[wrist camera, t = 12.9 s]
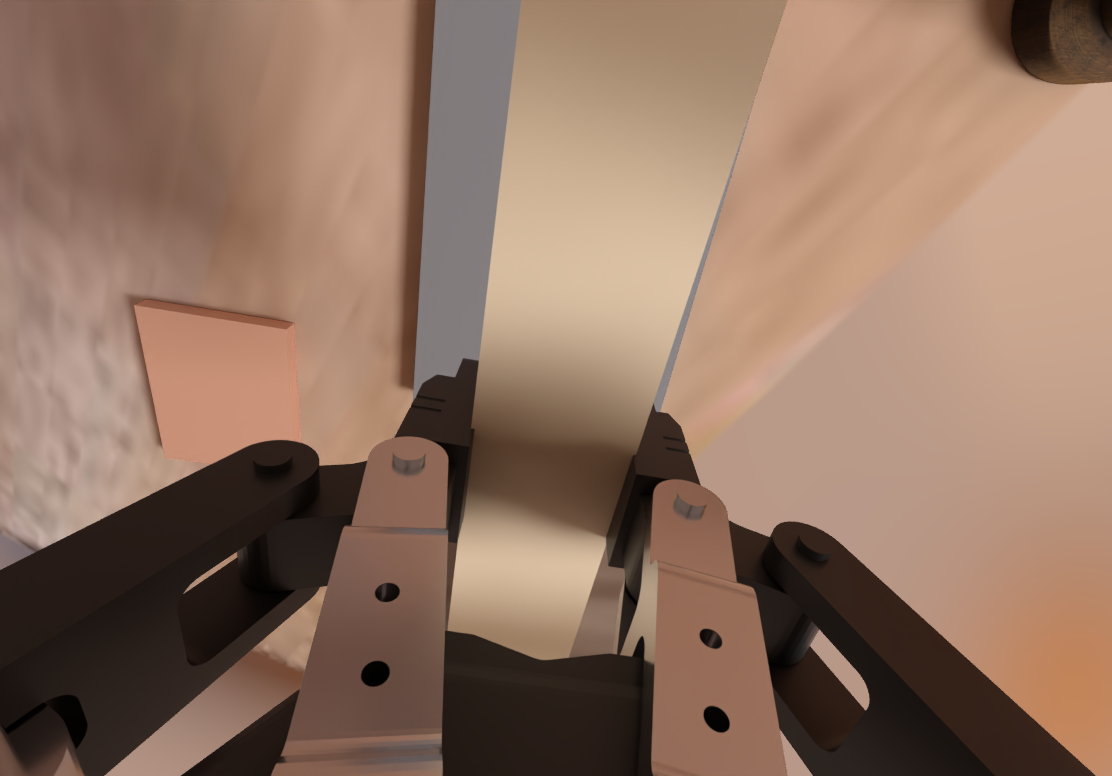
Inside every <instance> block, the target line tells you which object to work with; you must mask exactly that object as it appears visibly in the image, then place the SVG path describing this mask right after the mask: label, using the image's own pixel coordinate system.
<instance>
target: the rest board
mask: <svg viewBox="0 0 1112 776" xmlns="http://www.w3.org/2000/svg"><path fill="white" fill-rule="evenodd" d="M520 5H521V0H436V5H435V22H434V40H433V57H432V75H431V92H430V110H429V128H428V145H427V163H426V180H425V198H424V215H423V233H422V250H421V268H420V286H419V303H418V321H417V338H416V356H415V373H414V391H413V401H414V399H415V398H416V395H417V393H418V391H419V389H420V387H421V385H422V383H424V382H425V381H427V380H429V379H430V378H432V377H433V376H435V375H437V374H438V375H444V376H450V377H455V376H456V374H457V372H458V369H459V367H460V364H461V362H462V359H463V358H467V359H472V360H478V361H479V356H480V347H481V339H482V330H483V322H484V313H485V305H486V296H487V288H488V279H489V270H490V262H491V253H492V245H493V236H494V228H495V219H496V211H497V202H498V193H499V185H500V176H501V168H502V159H503V151H504V142H505V134H506V125H507V117H508V108H509V99H510V91H511V82H512V74H513V65H514V57H515V48H516V40H517V31H518V22H519V14H520ZM752 106H753V105H752ZM751 109H752V108H751ZM750 112H751V111H750ZM749 116H750V114H749ZM748 119H749V117H748ZM747 122H748V120H747ZM746 126H747V123H746ZM746 126H745V129H746ZM745 129H744V132H745ZM744 132H743V135H744ZM743 135H742V138H741V141H740V144H739V147H738V150H737V153H736V156H735V159H734V162H733V165H732V168H731V171H730V174H729V177H728V180H727V183H726V186H725V189H724V192H723V195H722V198H721V201H720V204H719V207H718V210H717V213H716V216H715V219H714V222H713V225H712V228H711V231H710V234H709V237H708V240H707V243H706V246H705V249H704V252H703V255H702V258H701V261H700V264H699V267H698V270H697V273H696V276H695V279H694V282H693V285H692V288H691V291H690V294H689V297H688V300H687V303H686V306H685V309H684V312H683V315H682V318H681V321H680V324H679V327H678V330H677V333H676V336H675V339H674V342H673V345H672V348H671V351H670V354H669V357H668V360H667V363H666V366H665V369H664V373H663V376H662V379H661V382H660V385H659V388H658V391H657V394H656V397H655V400H654V406H655V410H656V412H660V410H661V407H662V404H663V400H664V397H665V394H666V390H667V387H668V384H669V380H670V377H671V374H672V370H673V367H674V364H675V360H676V357H677V354H678V351H679V347H680V344H681V341H682V337H683V334H684V331H685V327H686V324H687V321H688V317H689V314H690V311H691V308H692V304H693V301H694V298H695V294H696V291H697V288H698V284H699V281H700V278H701V274H702V271H703V268H704V265H705V261H706V258H707V255H708V251H709V248H710V245H711V241H712V238H713V235H714V231H715V228H716V225H717V221H718V218H719V215H720V212H721V208H722V205H723V202H724V198H725V195H726V192H727V188H728V185H729V182H730V178H731V175H732V172H733V169H734V165H735V162H736V159H737V155H738V152H739V149H740V145H741V142H742V139H743Z"/></svg>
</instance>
